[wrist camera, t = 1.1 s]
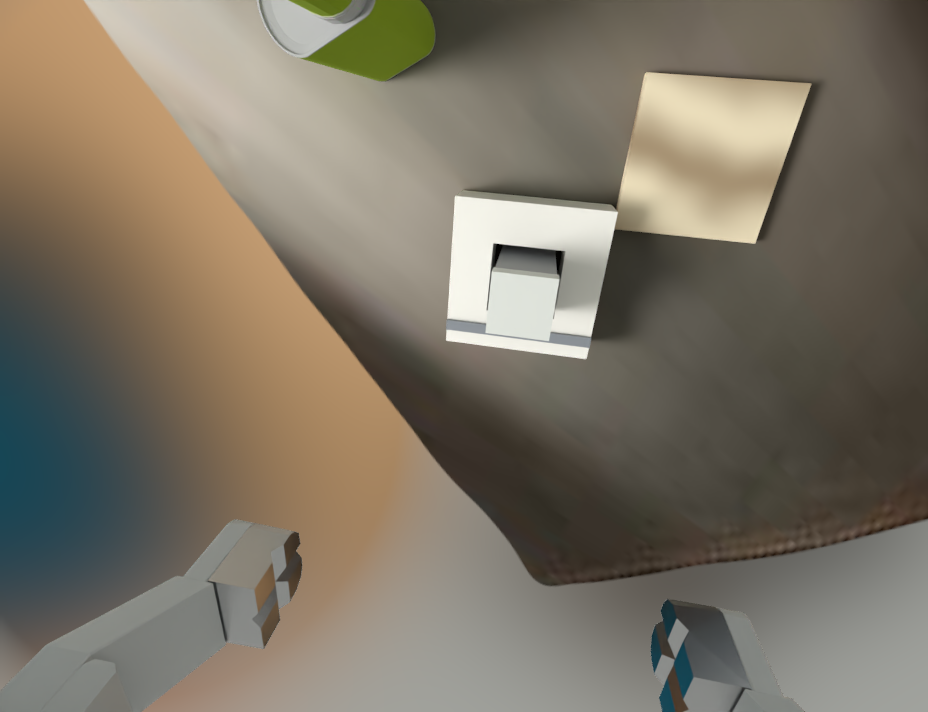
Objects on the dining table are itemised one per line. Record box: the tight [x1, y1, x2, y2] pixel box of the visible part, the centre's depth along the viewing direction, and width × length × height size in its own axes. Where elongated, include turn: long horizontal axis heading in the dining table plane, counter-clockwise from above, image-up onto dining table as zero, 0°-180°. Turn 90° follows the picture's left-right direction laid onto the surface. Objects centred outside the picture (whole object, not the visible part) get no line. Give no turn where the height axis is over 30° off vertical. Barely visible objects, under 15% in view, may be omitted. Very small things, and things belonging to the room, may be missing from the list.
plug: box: [485, 244, 560, 341], centre depth 34 cm, size 4×4×9 cm
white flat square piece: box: [446, 190, 618, 359], centre depth 36 cm, size 11×11×4 cm
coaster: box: [614, 72, 811, 244], centre depth 32 cm, size 10×10×1 cm
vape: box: [257, 0, 435, 82], centre depth 23 cm, size 4×6×20 cm, turn 116°
